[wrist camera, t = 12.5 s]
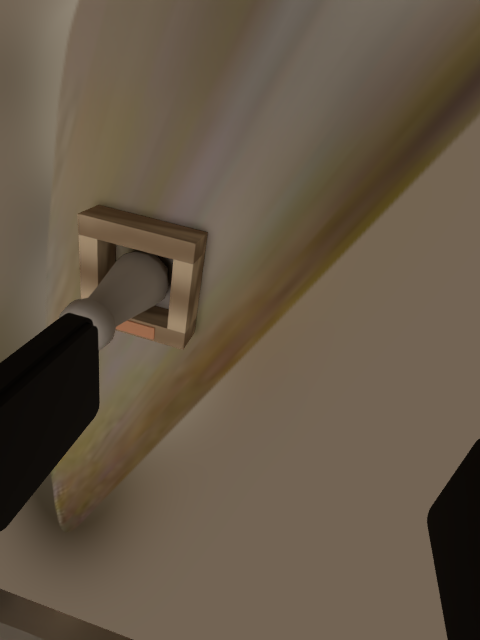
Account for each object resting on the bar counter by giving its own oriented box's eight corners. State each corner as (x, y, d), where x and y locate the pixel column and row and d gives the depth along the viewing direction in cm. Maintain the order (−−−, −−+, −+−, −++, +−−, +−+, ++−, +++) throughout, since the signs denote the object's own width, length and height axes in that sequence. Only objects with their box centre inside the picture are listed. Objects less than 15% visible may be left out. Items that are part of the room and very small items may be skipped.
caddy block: (98, 204, 40) (76, 214, 36) (207, 232, 38) (194, 244, 35) (99, 305, 46) (81, 321, 42) (194, 332, 44) (182, 350, 41)
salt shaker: (179, 252, 40) (113, 312, 29) (174, 302, 43) (113, 373, 32) (125, 238, 41) (40, 291, 30) (124, 288, 44) (47, 353, 33)
